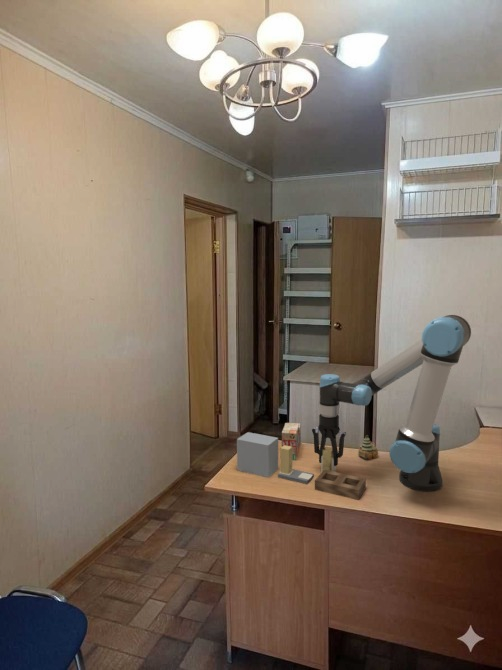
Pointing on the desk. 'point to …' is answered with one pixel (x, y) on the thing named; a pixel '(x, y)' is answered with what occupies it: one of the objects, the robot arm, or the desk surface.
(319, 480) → the socket board
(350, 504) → the desk surface
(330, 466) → the brass pin
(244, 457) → the block
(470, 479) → the desk surface
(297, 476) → the board
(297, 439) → the stack of blocks
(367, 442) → the ornament
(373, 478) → the desk surface
